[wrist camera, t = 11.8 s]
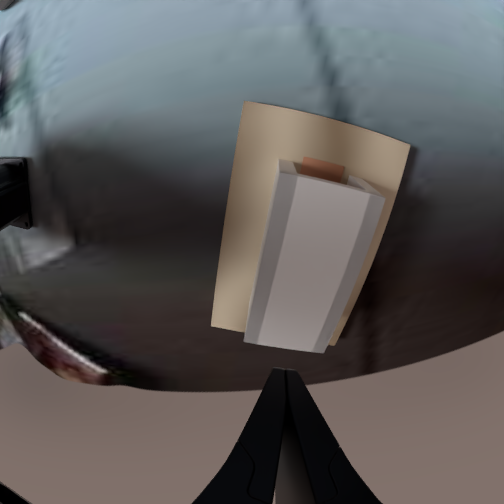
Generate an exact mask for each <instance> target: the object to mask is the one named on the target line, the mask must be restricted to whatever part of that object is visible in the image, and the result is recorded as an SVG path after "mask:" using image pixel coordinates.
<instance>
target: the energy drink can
mask: <svg viewBox="0 0 504 504" xmlns="http://www.w3.org/2000/svg"><path fill="white" fill-rule="evenodd" d="M13 1H14V0H0V10H4V9H5V8H7V7H8V6H9V5H10V4H11V3H12V2H13Z"/></svg>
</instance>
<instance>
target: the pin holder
mask: <svg viewBox="0 0 504 504" xmlns="http://www.w3.org/2000/svg"><path fill="white" fill-rule="evenodd" d="M409 149H410V145H409V144H406V143H404V142H401V141H399V140H396V139H393V138H390V137H388V136H385V135H382V134H379V133H376V132H373V131H370V130H367V129H364V128H361V127H358V126H354V125H351V124H348V123H344V122H341V121H337V120H333V119H330V118H326V117H322V116H318V115H314V114H310V113H306V112H301V111H297V110H292V109H287V108H282V107H277V106H272V105H266V104H261V103H255V102H248V101H244V104H243V110H242V115H241V121H240V127H239V132H238V138H237V144H236V150H235V156H234V162H233V169H232V175H231V181H230V188H229V194H228V201H227V207H226V214H225V221H224V228H223V235H222V242H221V250H220V257H219V265H218V272H217V280H216V288H215V296H214V305H213V313H212V322H211V326H214V327H219V328H224V329H229V330H234V331H239V332H245V329H246V322H247V315H248V308H249V301H250V297H251V292H252V287H253V282H254V277H255V273H256V268H257V263H258V258H259V253H260V248H261V243H262V238H263V234H264V229H265V224H266V219H267V214H268V209H269V204H270V199H271V194H272V189H273V184H274V179H275V174H276V169H277V164H278V159H282V160H287V161H292V162H293V164H294V167H295V169H296V172H297V173H298V174H302V175H307V176H311V177H316V178H320V179H324V180H328V181H333V182H337V183H341V184H345V185H347V182H348V178H349V175H351V176H355V177H358V178H362V179H363V180H364V181H366V182H367V183H368V184H369V185H371V186H372V187H373V188H374V189H375V190H377V191H378V192H379V193H380V194H381V195H383V196H384V197H385V198H386V199H385V202H384V205H383V208H382V212H381V215H380V218H379V221H378V224H377V227H376V229H375V232H374V235H373V238H372V241H371V244H370V246H369V249H368V252H367V255H366V257H365V260H364V262H363V265H362V268H361V270H360V273H359V275H358V278H357V280H356V283H355V285H354V288H353V290H352V292H351V295H350V297H349V299H348V302H347V304H346V306H345V309H344V311H343V313H342V315H341V318H340V320H339V322H338V324H337V326H336V329H335V331H334V333H333V335H332V337H331V339H330V341H329V343H328V345H333V346H335V344H336V342H337V340H338V338H339V336H340V334H341V332H342V330H343V328H344V326H345V324H346V322H347V319H348V317H349V315H350V313H351V311H352V309H353V307H354V304H355V302H356V300H357V298H358V296H359V293H360V291H361V289H362V286H363V284H364V282H365V279H366V277H367V275H368V272H369V270H370V267H371V265H372V262H373V260H374V257H375V255H376V252H377V249H378V247H379V244H380V242H381V239H382V236H383V233H384V231H385V228H386V225H387V222H388V219H389V216H390V213H391V210H392V207H393V204H394V201H395V198H396V195H397V192H398V188H399V185H400V182H401V178H402V175H403V171H404V168H405V164H406V160H407V156H408V153H409Z"/></svg>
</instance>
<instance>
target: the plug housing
mask: <svg viewBox="0 0 504 504" xmlns="http://www.w3.org/2000/svg"><path fill="white" fill-rule="evenodd" d="M385 199H386V198H385V197H384V196H383V195H381V194H380V193H379V192H378V191H377V190H375V189H374V188H373V187H372V186H371V185H369V184H368V183H367V182H366V181H364V180H363V179H362V178H358V177H355V176H351V175H349V178H348V182H347V185H345V184H341V183H337V182H333V181H328V180H324V179H320V178H316V177H311V176H307V175H302V174H298V173H297V172H296V169H295V167H294V164H293V162H292V161H287V160H282V159H278V164H277V169H276V174H275V179H274V184H273V189H272V194H271V199H270V204H269V209H268V214H267V219H266V224H265V229H264V234H263V238H262V243H261V248H260V253H259V258H258V263H257V268H256V273H255V277H254V282H253V287H252V292H251V297H250V301H249V308H248V315H247V322H246V329H245V336H244V342H248V343H253V344H260V345H266V346H272V347H279V348H286V349H293V350H301V351H309V352H317V353H324V351H325V349H326V347H327V345H328V343H329V341H330V339H331V337H332V335H333V333H334V331H335V329H336V326H337V324H338V322H339V320H340V318H341V315H342V313H343V311H344V309H345V306H346V304H347V302H348V299H349V297H350V295H351V292H352V290H353V288H354V285H355V283H356V280H357V278H358V275H359V273H360V270H361V268H362V265H363V262H364V260H365V257H366V255H367V252H368V249H369V246H370V244H371V241H372V238H373V235H374V232H375V229H376V227H377V224H378V221H379V218H380V215H381V212H382V208H383V205H384V202H385Z"/></svg>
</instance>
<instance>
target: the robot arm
mask: <svg viewBox="0 0 504 504" xmlns="http://www.w3.org/2000/svg"><path fill="white" fill-rule="evenodd" d="M9 225H12V226H16V227H19V228H23V229H30V228H31V227H32V217H31V209H30V200H29V189H28V174H27V161H26V159H25V158H0V231H1V230H3V229H4V228H6V227H7V226H9ZM274 491H275V493H276V494H275V496H276V504H383V503H381V502H380V501H379V500H378V498H376V496H375V495H374V494H373V492H372V491H371V490H370V489H369V487H368V486H367V485H366V484H365V482H364V481H363V480H362V479H361V478H360V476H359V475H358V473H357V472H356V471H355V469H354V468H353V467H352V465H351V464H350V462H349V460H348V459H347V457H346V456H345V454H344V452H343V450H342V449H341V447H339V444H338V442H337V440H336V438H335V437H334V435H333V433H332V432H331V430H330V428H329V427H328V425H327V423H326V421H325V419H324V418H323V416H322V414H321V412H320V411H319V409H318V407H317V405H316V404H315V402H314V400H313V398H312V397H311V395H310V393H309V391H308V390H307V388H306V386H305V384H304V382H303V381H302V379H301V377H300V375H299V373H298V372H297V371H296V370H293V369H285V370H284V369H283V368H277V367H273V368H272V370H271V373H270V375H269V377H268V379H267V381H266V383H265V386H264V388H263V390H262V392H261V394H260V396H259V398H258V401H257V403H256V405H255V407H254V409H253V411H252V413H251V415H250V417H249V419H248V421H247V423H246V425H245V427H244V429H243V431H242V433H241V435H240V437H239V439H238V441H237V442H236V444H235V446H234V448H233V450H232V452H231V453H230V455H229V457H228V459H227V460H226V462H225V463H224V465H223V466H222V467H221V469H220V470H219V472H218V473H217V474H216V475H215V477H214V478H213V479H212V480H211V482H210V483H209V484H208V485H207V486H206V488H205V489H204V490H203V491H202V492H201V493H200V495H199V496H198V497H197V498H196V499H195V500H194V501H193V503H192V504H272V503H273V497H274ZM0 504H32V503H30V502H29V501H27V500H26V499H25V498H23V497H22V496H20V495H19V494H17V493H16V492H15V491H13V490H12V489H10V488H9V487H7V486H6V485H4V484H3V483H2V482H0Z"/></svg>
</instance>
